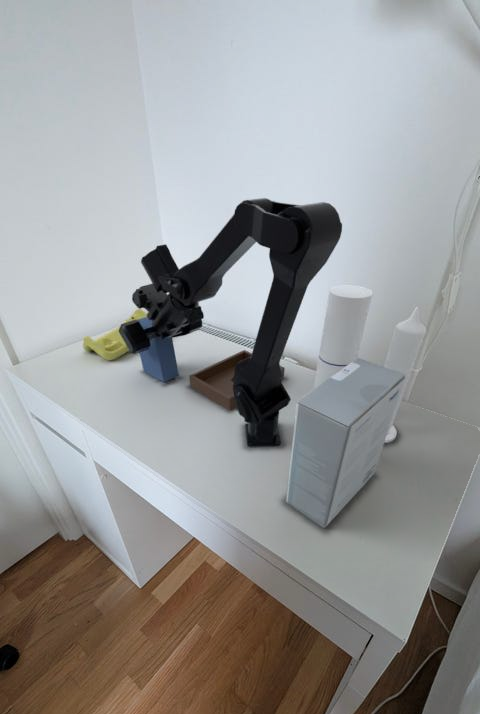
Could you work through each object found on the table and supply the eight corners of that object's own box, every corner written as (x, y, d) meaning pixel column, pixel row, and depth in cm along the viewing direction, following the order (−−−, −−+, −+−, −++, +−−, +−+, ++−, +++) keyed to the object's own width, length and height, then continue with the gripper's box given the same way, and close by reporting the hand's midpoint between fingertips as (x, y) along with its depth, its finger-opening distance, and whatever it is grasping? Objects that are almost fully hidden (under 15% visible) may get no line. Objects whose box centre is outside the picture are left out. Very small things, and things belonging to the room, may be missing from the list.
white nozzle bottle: (379, 417, 71) (418, 296, 55) (403, 438, 66) (454, 311, 50) (351, 425, 69) (383, 302, 53) (373, 447, 64) (417, 318, 48)
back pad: (179, 375, 84) (169, 323, 76) (163, 382, 81) (153, 329, 73) (158, 365, 89) (148, 316, 81) (143, 371, 86) (131, 321, 79)
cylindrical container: (305, 403, 75) (321, 287, 59) (333, 397, 77) (357, 283, 61) (320, 422, 70) (343, 300, 54) (350, 415, 71) (381, 295, 56)
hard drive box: (335, 453, 62) (358, 356, 50) (374, 474, 58) (410, 374, 46) (283, 502, 54) (295, 399, 41) (324, 531, 50) (352, 426, 37)
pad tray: (244, 360, 91) (244, 349, 89) (283, 378, 83) (284, 367, 81) (190, 387, 81) (188, 375, 79) (229, 410, 73) (229, 398, 71)
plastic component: (109, 356, 88) (81, 332, 89) (108, 374, 94) (82, 352, 94) (161, 325, 100) (135, 304, 100) (157, 342, 106) (133, 323, 106)
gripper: (191, 265, 73) (166, 302, 86) (112, 285, 62) (98, 323, 75) (216, 312, 74) (188, 341, 87) (143, 339, 63) (123, 367, 76)
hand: (151, 342), depth 81 cm, fingers open, 8 cm apart
